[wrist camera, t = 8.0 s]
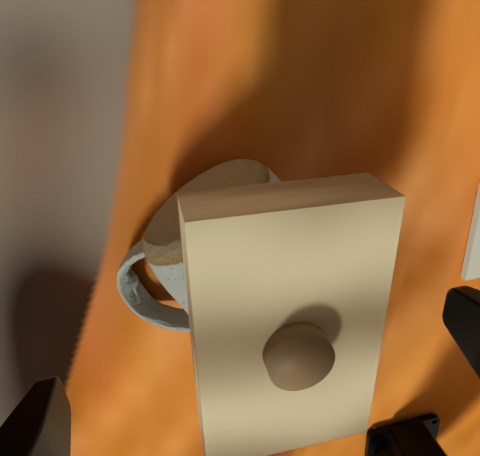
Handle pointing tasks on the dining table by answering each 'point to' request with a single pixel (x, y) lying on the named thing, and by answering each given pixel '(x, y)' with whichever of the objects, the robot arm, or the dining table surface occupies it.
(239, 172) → the ceramic mug
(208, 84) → the dining table surface
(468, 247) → the mat
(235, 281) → the lid
